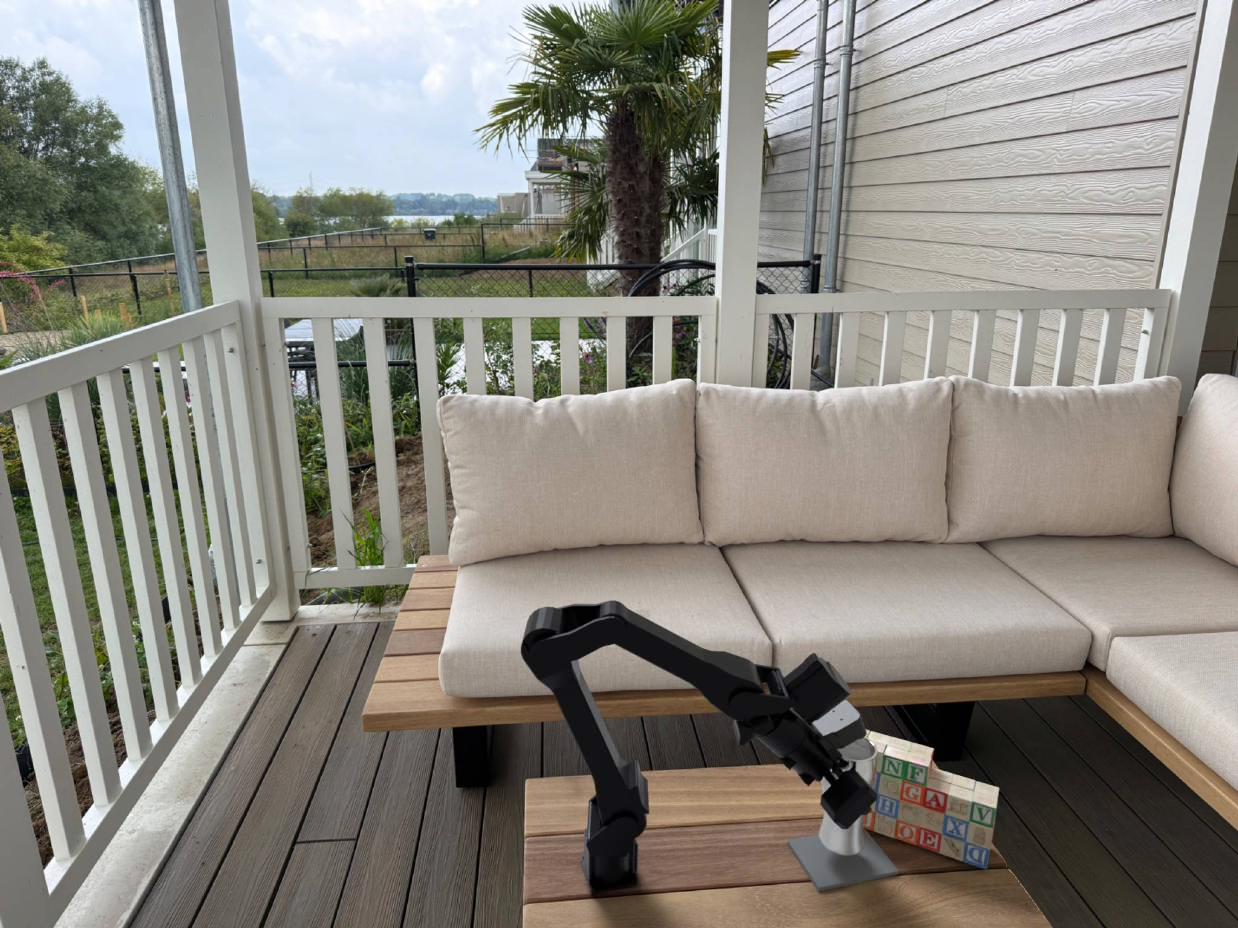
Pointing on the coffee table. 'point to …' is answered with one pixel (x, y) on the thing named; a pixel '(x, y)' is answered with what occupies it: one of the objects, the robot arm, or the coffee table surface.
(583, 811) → the coffee table surface
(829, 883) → the charcoal mat
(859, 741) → the chrome tapered cup
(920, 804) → the stack of blocks
